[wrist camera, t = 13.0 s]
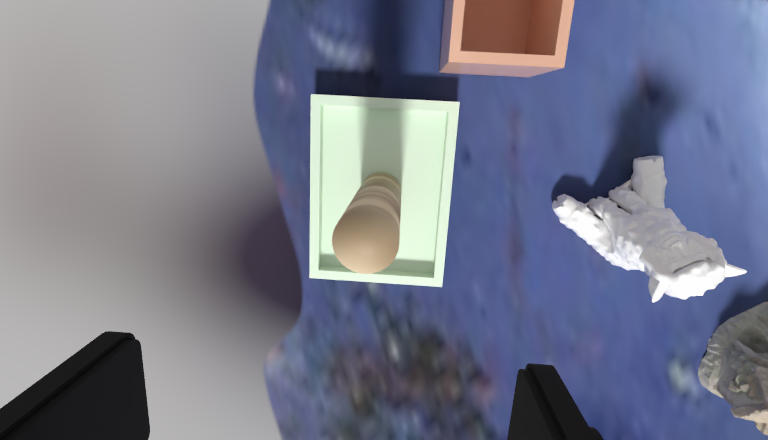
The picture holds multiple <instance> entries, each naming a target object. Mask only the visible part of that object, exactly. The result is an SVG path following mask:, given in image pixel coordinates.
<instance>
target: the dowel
mask: <svg viewBox="0 0 768 440" xmlns="http://www.w3.org/2000/svg"><path fill="white" fill-rule="evenodd" d="M400 216H401V186H400V184H399V182H398V180H397V179H396V178H395V177H394V176H392V175H391V174H388V173H385V172H377V173H373V174H371V175H370V176H368V177H367V178H366V179H365V180H364V182H363V183H362V185H361V187H360V188H359V190H358V191H357V193H356V194H355V196H354V198H353V199H352V201H351V202H350V204H349V206H348V207H347V209H346V210H345V212H344V213H343V215H342V217H341V218H340V220H339V221H338V223H337V225H336V226H335V229H334V231H333V235H332V246H333V250H334V253H335V255H336V257H337V259H338V260H339V261H340V262H341V264H343V265H344V266H345V267H346V268H348V269H349V270H351V271H354V272H357V273H361V274H372V273H376V272H379V271H381V270H383V269H385V268H386V267H388V266H389V265H390V264H391V263H392V262H393V260H394V259H395V257H396V255H397V253H398V249H399V239H400Z"/></svg>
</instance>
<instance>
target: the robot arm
mask: <svg viewBox="0 0 768 440" xmlns="http://www.w3.org/2000/svg"><path fill="white" fill-rule="evenodd" d="M149 434H150V425H149V416H148V407H147V397H146V388H145V379H144V370H143V361H142V351H141V344H140V342H139V341H138V340H136V339H135V337H134V335H133V334H131V333H123V332H104V333H102V334H101V335H100V336H98V337H97V338H96V339H94V340H93V341H91V342H90V343H89V344H87V345H86V346H85V347H83V348H82V349H81V350H79V351H78V352H77V353H76V354H74V355H73V356H71V357H70V358H68V359H67V360H66V361H64V362H63V363H62V364H60V365H59V366H58V367H56V368H55V369H54V370H52V371H51V372H50V373H48V374H47V375H45V376H44V377H43V378H42V379H40V380H39V381H37V382H36V383H35V384H33V385H32V386H31V387H29V388H28V389H27V390H25V391H24V392H23V393H21V394H20V395H19V396H17V397H16V398H15V399H13V400H12V401H10V402H9V403H8V404H6V405H5V406H3V407H2V408H1V409H0V440H148V438H149ZM507 440H603V438H602V436H601V435H600V433H599V432H598V431H597V430H596V429H595V428H593V427H589V426H588V425H587V423H586V421H585V419H584V418H583V416H582V414H581V412H580V411H579V409H578V407H577V405H576V404H575V402H574V400H573V399H572V397H571V395H570V393H569V392H568V390H567V388H566V386H565V385H564V383H563V381H562V379H561V378H560V376H559V374H558V372H557V371H556V369H555V368H554V366H552V365H542V364H527V366H526V369H520V370H519V371H518V375H517V381H516V387H515V394H514V400H513V406H512V413H511V419H510V426H509V432H508V438H507Z"/></svg>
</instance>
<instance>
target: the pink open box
mask: <svg viewBox="0 0 768 440" xmlns="http://www.w3.org/2000/svg"><path fill="white" fill-rule="evenodd" d="M573 7H574V0H445V4H444V16H443V29H442V41H441V53H440V65H439V73H454V74H474V75H494V76H513V77H532V76H535V75H539V74H543V73H546V72H550V71H554V70H558V69H561V68H564V65H565V59H566V52H567V46H568V39H569V33H570V26H571V20H572V13H573Z"/></svg>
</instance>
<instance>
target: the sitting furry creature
mask: <svg viewBox="0 0 768 440" xmlns="http://www.w3.org/2000/svg"><path fill="white" fill-rule="evenodd" d="M663 168H664V161H663V157H662V156H645V157H638V158H635V159H634V161H633V174H632V175H631V179H630V180H628V181H627V182H625V183H624V184H622V185H621V186H619V187H616V188H615V189H614V190H610V191H609V193H608V194H609V197H608V198H603V197H600V196H598V197H597V199H595V198H592V199H590V201H589V202H587V203H585V204H584V203H582V202H580V201H576V200H575V199H574V198H573V197H571V196H568V195H566V194H562V195H560V196H558V197H557V201H555V200H554V201H553V204H552V208H553V210H554V212H555V213H556V214H557V215H558V217H559V220H560V222H561V223H563V224H565V226H566V227H568V228H570V229H572V230H573V231H574V232H575V233H576V234H577V235H578V236H579V237H581V238H583V240H586V242H587V244H589V245H592V247H593V248H594V249H595V250H596V251H597V252H599V253H600V255H602V256H604V257H605V259H606V261H610V262H611V264H612V265H617V266H621V267H622V268H624V269H626V270H636V269H637V270H640V271H645V272H646V273H647V275H648V276H649V278H650V279H649V285H648V287H649V292H650V295H651V297H652V302H656V301H658V300H659V299H660V298H661V297H662V295H663V294H664V293H666V294H667V295H669V296H672V297H678V298H680V299H687V298H688V297H690V296H696V295H699V296H702V295H703V294H704V292H705V291H706V290H708V289H714V288H715V287H716V286H717V285H718V284H719V283H720V282H722V281H723V280H724V278H725V277H732V276H737V275H741V274H745V273H746V272H747V271H746V270H744V269H742V268H739V267H736V266H733V265H730V264H727V261H726V260H725V258H724V255H723V254H722V249H720V248H718V247H717V242H716V241H715V240H714V239H713V238H705V237H704V236H702V235H699V234H698V232H691V231H687V230H686V227H685V226H684V225H683V224H681V223H680V220H679V219H678V218H677V217H676V215H675V214H674V212H673V211H672V210H671V209H670V208H665V206H664V201H663V200H664V198H665V194H664V192H665V186H666V184H667V179H666V177H665V171H664V170H663ZM631 189H633V191H632V190H631ZM610 199H611V200H612V201H611V200H610ZM587 205H588V208H587ZM617 205H619V206H620V207H621V208H618V207H617ZM622 208H623V209H622ZM594 215H597V216H594Z"/></svg>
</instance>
